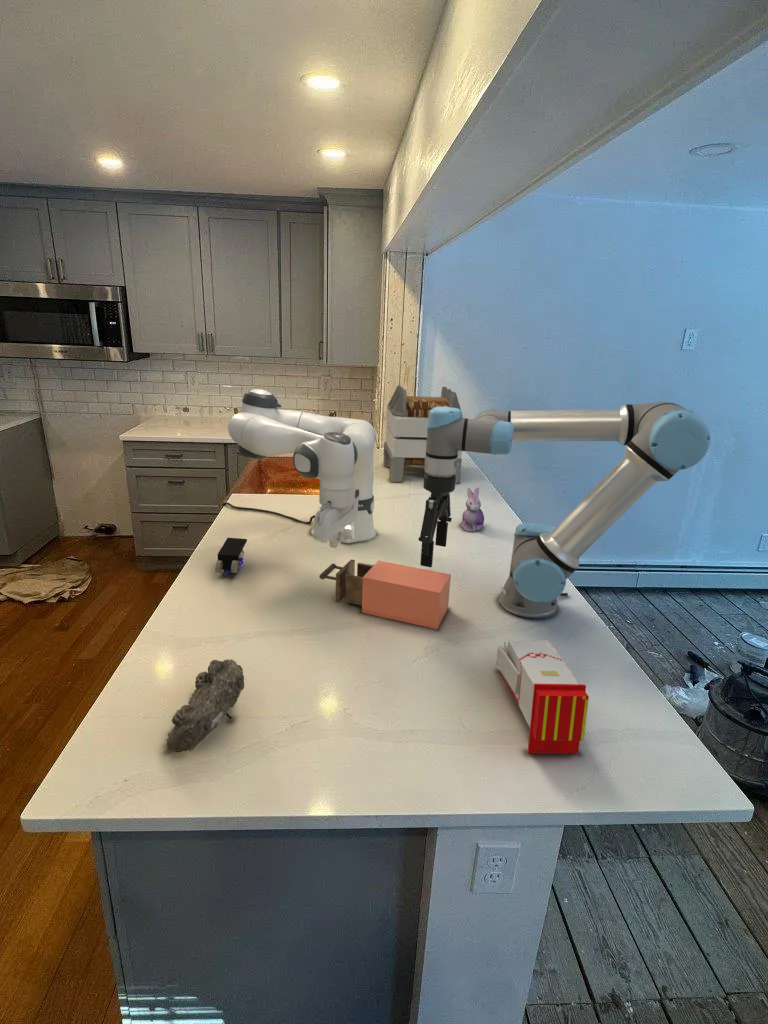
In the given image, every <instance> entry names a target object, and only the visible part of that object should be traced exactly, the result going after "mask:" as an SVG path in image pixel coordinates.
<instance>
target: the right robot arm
mask: <svg viewBox="0 0 768 1024" xmlns="http://www.w3.org/2000/svg"><path fill="white" fill-rule="evenodd" d="M461 412H462V409H461V410H460V409H457V408H452V407H435V408H433V409H431V410H430V412H429V419H428V427H427V442H426V456H425V466H424V468H423V469H424V472H425V473H424V474H423V484H422V485H423V489H424V490H425V491H427V492H429V493H430V496H429V497H428V498H427V499H426V500H425V507H424V508H425V509H424V514H423V519H422V525H421V530H420V536H419V537H418V538H417V539H418V540H417V541H419V542H421V549H420V551H421V552H420V563H419V564H420V566H421V567H428V568H432V567H433V559H434V548H435V547H434V546H438V547H444V548H446V547H447V540H448V539H447V538H448V527H449V523H452V517H451V516H452V513H451V493H453V492H454V491H455V489H456V483H455V481H456V476H455V475H454V474H455V473H456V468H457V466H459V462H457V457H458V451H462V452H469V453H479V454H480V453H481V454H488V455H489V454H490V455H493V456H496V455H506V456H507V455H508V454H510V453H511V451H512V444H513V442H617V443H618V444H620V446H625V455H624V457H623V458H621V460H620V461H619V462H618V463H617V464H616V465H615V466H614V467H613V468H611V470H610V471H609V472H608V473H607V474H606V476H604V477H603V478H602V479H601V480H600V481H599V482H598V483H597V484H596V486H594V488H592V490H591V491H589V492H588V494H587V495H586V496H585V497H584V498H582V500H581V501H580V502H579V503H578V504H577V505H576V506H575V507H574V508H573V509H572V510H571V511H570V512H569V513H568V514H567V515H566V516H565V517H564V518H563V519H562V521H560V523H558V524H557V526H556V527H555V526H552V525H548V524H545V523H537V522H523V523H520V524H517V526H516V527H515V530H514V533H513V536H514V537H513V546H512V552H511V560H510V568H509V575H508V577H507V579H506V581H505V583H504V585H503V586H501V587H500V588H501V589H500V594H499V604H500V606H501V608H503V609H504V610H505V611H507V612H508V613H510V614H513V615H515V616H518V617H521V618H526V619H546V618H549V617H551V616H553V615H555V613H556V612H557V607H558V599H557V598H559V597H568V596H569V593H567V592H564V590H565V587H566V585H567V580H568V578H570V576H572V574H574V573H575V572H576V570H578V569H579V568H580V557H581V556H582V555H583V554H584V553H585V552H586V551H588V549H589V548H591V547H592V546H593V545H594V543H595V542H596V541H598V540H599V539H600V538H601V537H602V536H603V535H604V534H605V533H607V531H608V530H609V529H610V528H611V527H612V526H613V525H614V524H615V523H616V522H617V521H618V520H619V519H620V518H621V517H622V516H623V515H624V514H626V512H628V511H629V510H630V508H632V506H634V505H635V503H637V502H638V501H639V499H641V498H642V497H643V496H644V495H645V494H646V493H647V492H648V491H650V489H651V488H652V487H653V486H654V485H655V484H656V483H658V482H668V481H669V480H671V479H672V478H673V477H674V476H676V474H677V473H678V472H679V471H681V470H682V471H683V470H687V469H690V468H692V467H694V466H695V465H697V464H699V463H700V462H701V461H702V460H703V459H704V457H705V456H706V454H707V453H708V451H709V448H710V444H711V433H710V429H709V427H708V425H707V424H706V422H705V421H704V420H703V419H702V417H700V416H699V414H697V413H696V412H693V411H692V410H690V409H687V408H685V407H683V406H681V405H679V404H677V403H675V402H669V401H658V402H647V403H631V404H628V403H627V404H626V403H625V404H622V405H621V406H619V408H597V409H595V408H594V409H593V408H592V409H591V408H590V409H589V408H588V409H540V410H538V409H537V410H497V409H494V408H486V409H484V410H482V411H481V412H479V413H478V414H477V415H476V416H475V418H466V417H463V412H462V413H461ZM434 537H435V540H434Z"/></svg>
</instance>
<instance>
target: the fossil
mask: <svg viewBox="0 0 768 1024" xmlns="http://www.w3.org/2000/svg"><path fill="white" fill-rule="evenodd" d="M243 670H244V669H243V667H242V665H240V664H237V662H236V661H235V660H234V659H232V658H231V659H227V658H226V659H224V660H223V661H222V660H217V659H212V660H211V661H210V663H209V665H208V666H207V671H201V672H199V673H198V674H197V675H196V676H195V680H194V684H195V685H194V687H195V689H194V690H193V693H192V694H191V697H190V698H189V700H188V704H184V705H182V706H181V707H180V709H177V710H176V711H175V713H174V715H173V716H172V718H171V723H172V724H173V727H172V730H171V731H170V732H168V734H167V738H166V741H167V742H166V745H167V749H168V750H169V751H173V752H174V753H176V754H178V753H182V752H188V751H189V752H192V751H193V750H195V748H196V747H197V746H199V744H200V743H201V742H203V741H204V740H205V739H206V738H207V737H208V736H209V735H210V734H211V733H212V732H214V730H215V729H217V727H218V726H219V724H220V722H221V721H222V720H223V719H224V718H225V716H226V717H227V719H229V720H233V717H232V715H230V714H229V710H230V709H231V708H234V706H235V704H236V703H237V702H238V699H239V697H240V695H241V693H242V691H243V690H245V689H244V688H245V675H244V671H243Z"/></svg>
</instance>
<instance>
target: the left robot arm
mask: <svg viewBox="0 0 768 1024" xmlns="http://www.w3.org/2000/svg"><path fill="white" fill-rule="evenodd" d="M241 399H242V400H241V402H242V404H241V407H240V412H238V413H236V414H234V415H233V416H232V417H231V418H230V420H229V422H228V426H227V431H228V434H229V436H230V438H231V439H232V440H233V441H234V442H235V443H236V444H237V449H238V452H239V453H240V454H241V456H243V457H245V458H247V459H250V460H263V459H266V458H267V457H275V456H281V455H282V456H283V455H288V454H292V463H293V467H294V470H295V471H296V472H297V474H299V476H301V477H302V478H305V479H317V480H319V485H318V486H319V488H318V489H319V491H318V492H319V493H318V494H319V495H318V496H319V498H318V499H319V504H320V505H321V506H320V507H319V510H318V511H317V512H316V513H315V514H314V515H312V516H310V518H309V520H308V521H302V520H300V519H297V518H295V517H292V516H289V515H286V514H283V513H280V512H277V511H274V510H273V511H272V510H269V509H268V510H267V509H262V508H254V507H243V506H236V505H233V504H231V503H229V502H227V501H226V502H223V504H222V506H226V505H227V506H229V507H231V508H233V509H236V510H242V511H244V510H245V511H253V512H260V513H261V512H262V513H266V514H271V515H275V516H280V517H282V518H284V519H288V520H292V521H293V522H297V523H300V524H305V525H310V524H312V522H313V526H312V528H311V530H310V533H311V536H312V537H313V540H314V541H315V542H318V543H324V544H325V543H328V542H330V548H333V549H337V548H338V547H339V546H340V545H341V544H342V543H343V544H352V543H357V542H365V541H368V540H372V539H373V538H375V537H376V535H377V532H376V528H375V523H374V513H373V512H374V509H375V496H374V447H375V444H376V443H375V442H376V438H377V433H376V430H375V428H374V426H373V425H372V424H371V423H370V422H369V421H367V420H365V419H357V418H349V417H338V416H327V415H321V414H317V413H311V412H306V411H301V410H295V409H279V408H282V405H281V403H279V402H278V399H277V398H276V396H275V395H274V394H273V393H271V392H269V391H268V390H265V389H262V388H254V389H248V390H247V391H245V392H244V394H243V396H242V398H241Z"/></svg>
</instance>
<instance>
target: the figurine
mask: <svg viewBox="0 0 768 1024" xmlns="http://www.w3.org/2000/svg"><path fill="white" fill-rule="evenodd" d="M466 491H467V493H466V494H467V499H466V501H465V507H466V509H465V510H464V511H463V513H462V516H461V517H462V518H461V519H462V520H461V527H462V528H463V530H464V531H469V532H475V531H480V530H481V529H482V528H484V523H485V515H484V512H483V510H482V509H481V507H482V502H481V499H480V497H479V494H480V488H479V487H478V486H477V487H476V488H475V489H474V490H473V491H472V490H471V488H469V487H468V488H467V489H466Z"/></svg>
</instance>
